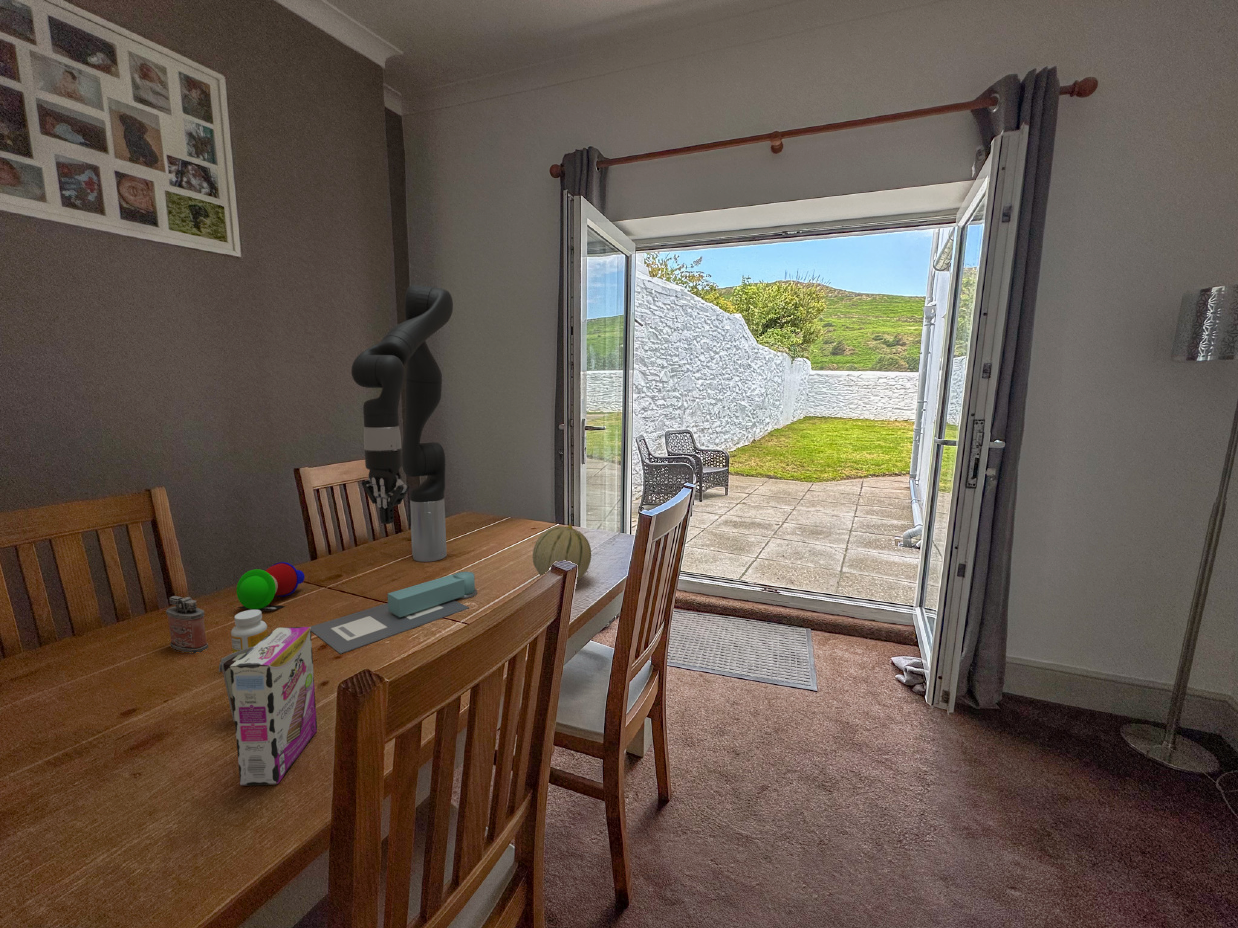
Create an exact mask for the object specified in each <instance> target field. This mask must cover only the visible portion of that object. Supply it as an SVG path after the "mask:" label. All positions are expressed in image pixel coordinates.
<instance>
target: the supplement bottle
mask: <svg viewBox="0 0 1238 928" xmlns="http://www.w3.org/2000/svg"><path fill="white" fill-rule="evenodd" d="M262 612H263V611H262V610H252V609H246V610H244V611H240V612H238V613H237V614H235V615H234V618H233V619H234V624H235V626H234V627H233V628H232V629H231V631H230V637H231V649H232V650H231V651H232V653H235V652H237V651H240V650H243V649H247V648H250V647H254V646H256V645H257V644H258V643H259V642H261V641H262V640H263V639H264V638H265V637H267V636H268V635H269V632H268V625H267V623H266V622H265V621H264V620H263V614H262Z"/></svg>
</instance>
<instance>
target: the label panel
mask: <svg viewBox="0 0 1238 928" xmlns="http://www.w3.org/2000/svg"><path fill="white" fill-rule="evenodd" d="M468 609H470V607H469V606H467V605H465V604H462V603H461V602H458V601H457V600H456V599H453V600H450V601H447V602H444V603H441V604H438V605H436V606H433V607H430V608H427V609H424V610H421V611H418V612H415V613H412V614H409V615H406V616H403V617H398V616H396V615H395V614H393V613H391V612H390V611H388V602H387V603H382V604H379V605H376V606H373V607H370V608H367V609H363V610H360V611H357V612H353V613H351V614H347V615H344V616H340V617H337V618H333V619H330V620H328V621H325V622H322V623H321V622H320V623H317V624H315V625H311V626H310V627H311V633H313V634H314V635H315V636H317V638H319V639H320V640H321V641H323V642H324V643H326V645H328V647H331V648H332V649H334V651H336V652H337V653H338V654H340V655H342V653H343V654H346V653H347V652H348V653H349V652H351V651H353V650H356V649H359V648H362V647H365V646H367V645H370V644H373V643H375V642H376V643H377V642H379V641H382V640H384V639H385V640H386V639H388V638H389V637H394V636H395V635H398V634H401V633H404V632H406V631H410V630H412V629H414V628H415V629H416V628H417V627H421V626H423V625H426V624H429V623H432V622H434V621H437V620H439V619H443V618H446V617H449V616H452V615H454V614H457V613H461V612H463V611H466V610H468ZM345 652H346V653H345Z"/></svg>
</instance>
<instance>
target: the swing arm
mask: <svg viewBox="0 0 1238 928" xmlns="http://www.w3.org/2000/svg"><path fill="white" fill-rule="evenodd" d="M475 579H476V578H475V573H474V572H473V571H458V572H456V573H454V574H449V575H445V576H443V577H439V578H436V579H435V578H434V579H433V580H429V581H425V582H422V583H419V584H416V585H412V586H409V587H405V588H401V589H399V590H395V591H391V592H388V593H387V603H388V611H390V612H391V613H393V614H395V615H396V616H398V617H403V616H406V615H409V614H412V613H415V612H418V611H421V610H424V609H427V608H430V607H433V606H436V605H438V604H441V603H444V602H447V601H450V600H457V599H456V598H459V597H462V596H465V595H468V594H471V593H473V592H474V591H475V589H476V584H475V582H476V581H475Z"/></svg>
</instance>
